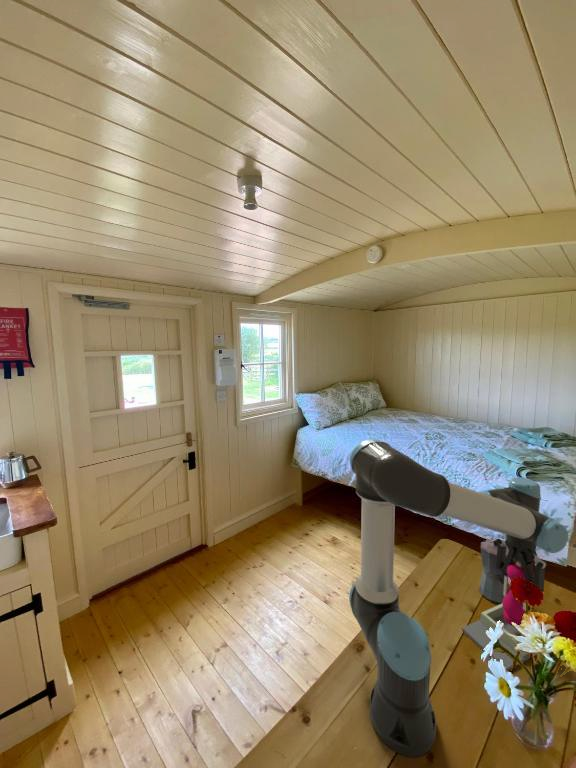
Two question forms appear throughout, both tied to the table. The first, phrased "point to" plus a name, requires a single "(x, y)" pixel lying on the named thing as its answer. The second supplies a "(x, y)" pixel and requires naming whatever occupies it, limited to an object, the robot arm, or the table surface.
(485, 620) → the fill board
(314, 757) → the table surface
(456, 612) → the table surface
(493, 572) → the moka pot
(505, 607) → the pepper mill
